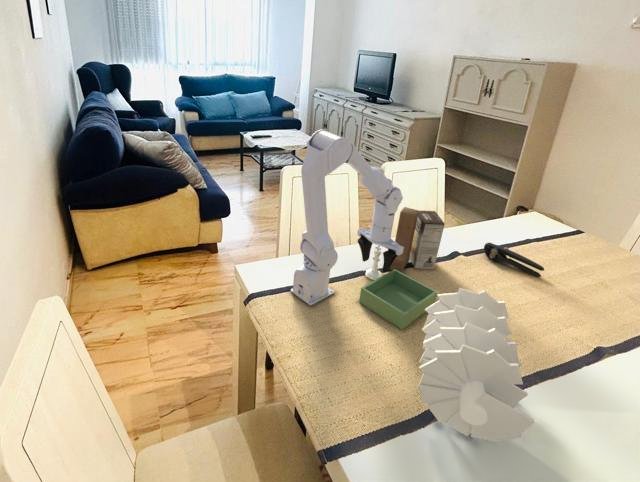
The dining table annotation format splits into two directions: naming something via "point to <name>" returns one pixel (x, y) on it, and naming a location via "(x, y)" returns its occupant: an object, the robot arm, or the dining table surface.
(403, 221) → the wooden block
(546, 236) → the dining table surface
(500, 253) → the can opener
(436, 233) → the coffee box
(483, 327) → the spiral staircase
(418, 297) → the basket
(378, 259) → the chess piece
